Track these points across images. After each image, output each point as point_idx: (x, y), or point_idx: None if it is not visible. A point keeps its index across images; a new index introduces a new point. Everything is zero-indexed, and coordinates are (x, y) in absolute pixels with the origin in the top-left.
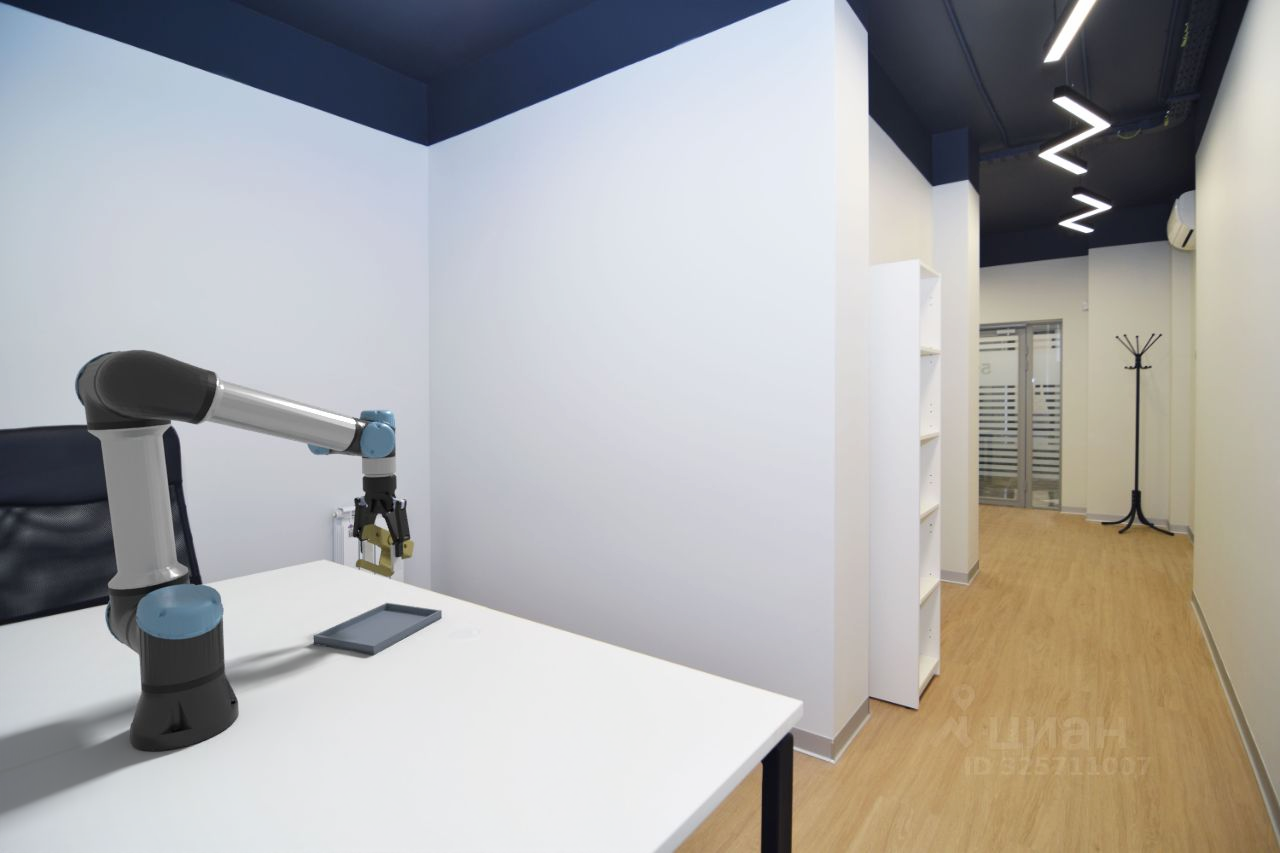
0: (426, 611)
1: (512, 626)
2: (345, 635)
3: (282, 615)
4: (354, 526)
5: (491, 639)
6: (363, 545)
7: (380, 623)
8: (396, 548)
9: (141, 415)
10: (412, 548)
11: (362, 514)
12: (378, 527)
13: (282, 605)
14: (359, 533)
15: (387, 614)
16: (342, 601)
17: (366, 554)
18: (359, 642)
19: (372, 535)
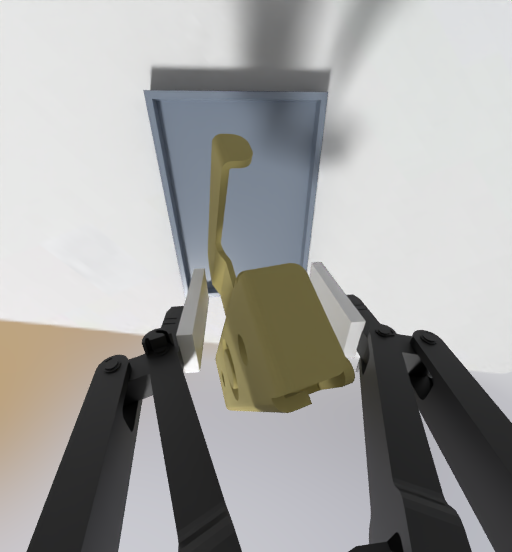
0: (214, 290)
1: (49, 306)
2: (281, 152)
3: (471, 199)
4: (468, 380)
5: (22, 252)
6: (349, 310)
7: (260, 228)
8: (173, 330)
9: None
10: (221, 384)
11: (489, 493)
12: (258, 402)
13: (493, 235)
14: (411, 357)
15: (279, 264)
16: (397, 284)
17: (326, 293)
18: (193, 97)
19: (243, 318)
